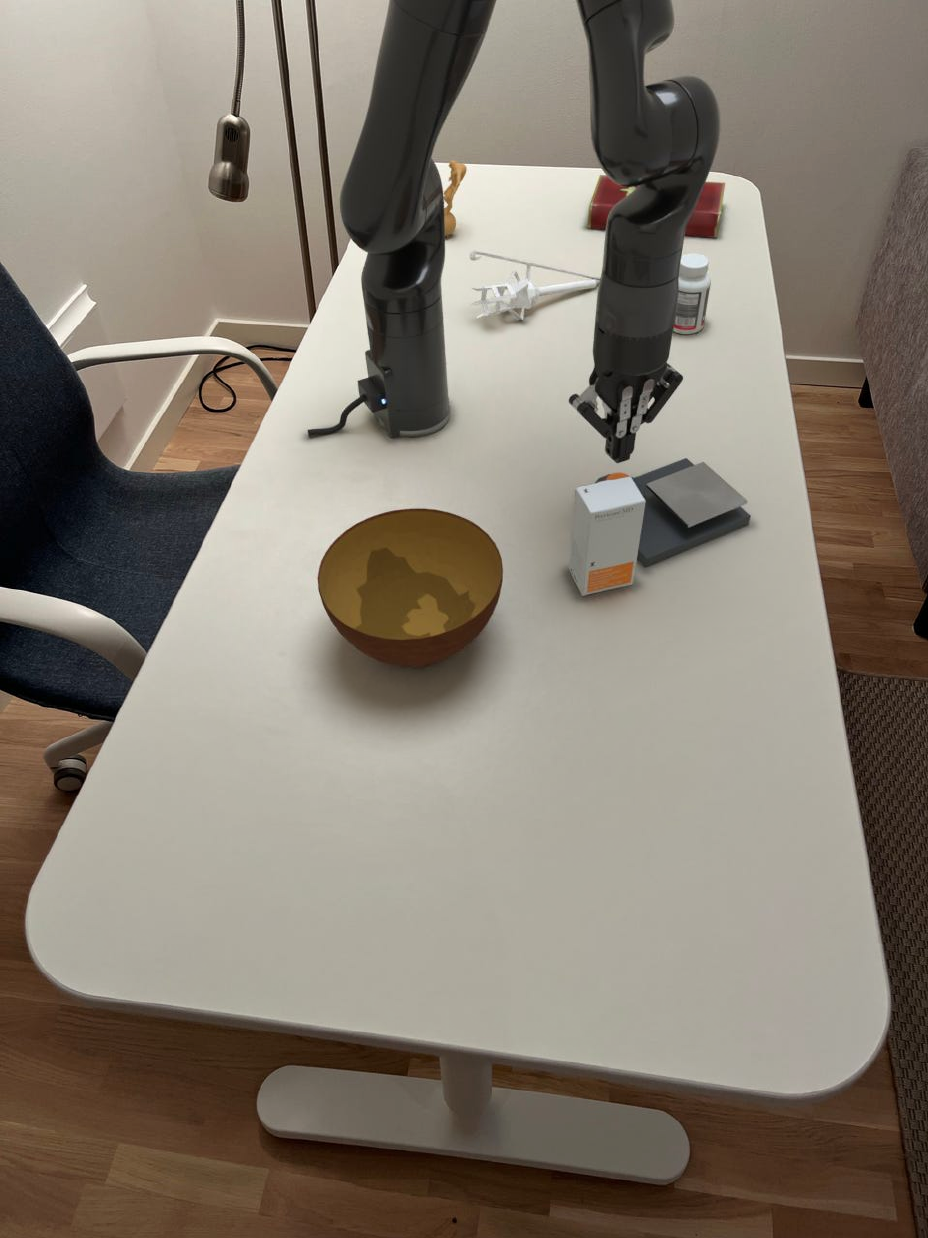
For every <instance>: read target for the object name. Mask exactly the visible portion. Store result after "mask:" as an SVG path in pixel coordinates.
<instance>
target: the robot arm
mask: <svg viewBox="0 0 928 1238" xmlns="http://www.w3.org/2000/svg"><path fill="white" fill-rule="evenodd" d="M575 2H576V7H577V10H578V14H579V17H580V22H581V25H582V28H583V33H584V35H585V36H584V37H585V39H586V43H587V56H588V81H589V82H588V83H589V111H590V117H589V118H590V119H589V120H590V121H589V122H590V135H591V136H590V138H591V144H592V145H591V146H592V150H593V153H594V156H595V158H596V161H597V163H598V165H599V167H600V169H601V170H602V172H603V173H604V175H607V176H608V177H609V178H610V179H611V180H612V181H613V182H614V183H616V184H618V185H620V186H623V187H635V186H638V187H637V188H636V189H635V190H634V191H633V192H632V193H630V194H629V195H628V196H626V197H625V198H623V199H622V200H621V201H619V202H618V203H617V204H616V205H615V206H614V207H613V208H612V210H611V211H610V213H609V215H608V219H607V224H606V230H605V232H604V233H605V234H604V244H603V255H602V267H601V273H600V274H601V275H600V277H601V278H600V280H599V283H598V286H597V293H596V294H597V296H596V305H595V307H596V308H595V318H594V330H593V341H592V357H593V369H592V371H591V374H590V375H589V378H588V386H587V388H586V389H584V391H583V392H582V393H581V394H580V395H579V394H578V393H573V394H571V395H570V396H569V398H568V403H569V405H570V406H571V407H572V408H573V409H574V410H575V411H576V412H577V413H578V414H579V415H580V416H581V417H582V418H583V419H584V420H585V421H586V422H588V423H589V425H590V426H591V427H592V428H593V429H594V430H595V431H596V432H597V433H598V434H599V435H600V436H602V438H603V439H605V445H604V446H605V447H604V451H605V454H606V455H607V456H608V457H609V458H610V459H611V460H612V461H614V462H615V463H616V464H620V463H624V462H627V461H629V460H630V459H631V455H632V454H633V453H634V450H635V445H636V437H637V432H638V431H639V430H640V428H641V426H642V425H643V424H651V423H652V422H653V421H654V420H655V419H656V418H657V416H658V414H659V413H660V412H661V411H662V409H663V408H664V407H665V406H666V404H667V403H668V401H669V400H670V399H671V397H672V396H673V395H674V393H675V392H676V391H677V389H678V388H679V386H680V385H681V384H682V382H683V380H684V376H683V375H682V374H681V373H680V372H679V371H678V370H677V369H675V368H674V367H673V366H672V365H671V364H669V363H668V360H669V358H670V354H671V353H670V352H671V346H672V339H673V335H674V334H673V333H674V331H673V328H674V321H675V315H676V308H677V301H678V293H679V269H680V262H681V257H682V256H683V248H684V242H685V237H686V236H685V229H686V226H687V224H688V222H689V219H690V217H691V215H692V213H693V211H694V209H695V207H696V204H697V202H698V199H699V197H700V194H701V192H702V189H703V187H704V184H705V182H707V179H708V177H709V174H710V171H711V170H712V166H713V163H714V161H715V158H716V155H717V152H718V149H719V144H720V138H721V129H722V123H721V122H722V121H721V110H720V105H719V101H718V98H717V96H716V94H715V92H714V90H713V88H712V87H711V86H710V85H709V84H708V83H707V81H705V80H704V79H702V78H700V77H698V76H695V75H689V74H687V75H679V76H674V77H671V78H668V79H665V80H661V81H657V82H653V83H651V84H647V85H646V83H645V60H646V55H648V54H649V53H650V52H652V51H654V50H655V49H657V48H658V47H660V46H661V45H663V43H665V42H666V41H667V40H668V39H669V37H670V36H671V35H672V33H673V30H674V28H675V11H674V5H673V0H575ZM496 3H497V0H389V1H388V6H387V11H386V18H385V21H384V25H383V26H384V27H383V30H382V35H381V40H380V45H379V49H378V54H377V58H376V65H375V69H374V70H375V71H374V75H373V80H372V86H371V92H370V97H369V103H368V107H367V111H366V115H365V119H364V122H363V125H362V128H361V131H360V135H359V137H358V140H357V143H356V145H355V149H354V152H353V154H352V158H351V161H350V163H349V166H348V169H347V171H346V174H345V177H344V179H343V182H342V186H341V190H340V195H339V212H340V216H341V220H342V221H341V222H342V224H343V226H344V229H345V231H346V233H347V235H348V237H349V238H350V239H351V241H352V242H353V243H354V244H355V245H356V246H357V247H358V248H359V249H360V250H361V251H363V252H365V253H367V254H366V258H365V261H364V265H363V267H362V270H361V271H362V272H361V277H360V282H361V291H362V299H363V306H364V314H365V321H366V322H365V323H366V329H367V338H368V346H369V349H368V350H367V349H366V351H364V356H365V362H366V364H365V365H366V371H367V377H366V378H361V379H359V380H357V381H356V382H357V387H358V394H359V396H358V397H357V398H356V399H355V400H353V401H352V402H351V403H349V404H348V405H347V406H346V407H345V408H344V409H343V411H342V412H341V414H340V418H339V422H338V423H337V424H335V425H334V426H331V427H325V428H311V429H307V435H308V437H314V436H328V435H332V434H335V433H338V432H340V431H342V430H343V429H344V427H345V426H346V424H347V420H348V416H349V415H350V414H351V412H353V411H354V410H355V409H356V408H358V407H359V406H361V405H362V404H363V403H364V405H365V406H366V407H367V409H368V410H369V412H371V414H372V415H373V416H374V418H375V419H376V420H377V422H378V423H379V425H380V426H381V427H382V428H383V429H384V431H385V432H386V434H388V436H389V437H390V438H391V439H396V438H398V437H407V438H408V437H409V438H414V437H424V436H427V435H430V434H433V433H436V432H437V431H439V430H440V429H442V428H443V427H444V426H445V425H446V424H448V422H449V419H450V417H451V407H450V397H449V386H448V371H447V359H446V358H447V356H446V341H445V327H444V326H445V325H444V323H445V322H444V308H443V294H442V293H443V292H442V291H443V290H442V276H443V271H444V267H445V262H446V261H445V260H446V236H445V216H444V208H445V200H444V187H443V182H442V178H441V175H440V172H439V169H438V166H437V164H436V162H435V161H434V160H433V158H432V157H433V153H434V150H435V146H436V143H437V141H438V138H439V135H440V134H441V131H442V129H443V127H444V124H445V123H446V121H447V119H448V117H449V115H450V113H451V111H452V109H453V107H454V105H455V103H456V102H457V100H458V97H459V95H460V93H461V91H462V89H463V87H464V86H465V83H466V81H467V79H468V77H469V75H470V73H471V72H472V71H471V70H472V68H473V66H474V64H475V62H476V60H477V58H478V55H479V54H480V50H481V49H482V45H483V43H484V40H485V38H486V35H487V32H488V29H489V26H490V22H491V19H492V16H493V13H494V10H495V7H496ZM597 398H599V399H600V400H601V403H602V405H601V406H602V408H603V411H604V417H601V416H600V415H599V414H598V413H597V412H598V411H599V407H598V401H597ZM652 399H654V400H653V402H652V403H651V404H650V406H649V403H650V402H651V400H652ZM648 406H649V408H648Z"/></svg>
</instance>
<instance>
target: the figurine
mask: <svg viewBox="0 0 928 1238" xmlns="http://www.w3.org/2000/svg"><path fill="white" fill-rule="evenodd" d="M448 167H449V168H450V176H449V177H448V180H447V181H448V182H451V183H450V184H449V185H448V186H447V188H446V189H445V190H443V195H444V203H446V204H447V206H445V207H444V216H445V237H449V236H450V235H452V234H453V233H454V231H456V228H457V219H456V217H455V215H454V214H453V213H452V212H451V210H453V209H452V208H453V200H454V197H455V194H456V193H457V191H458V189H459V187H460V185H461V183H462V181H463V179H464V178H465V176H466V174H467V170H468V169H467V166H466V165H465V164H464V163H462V162H458V161H456V160H453V159H451V160H449V164H448Z"/></svg>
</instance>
